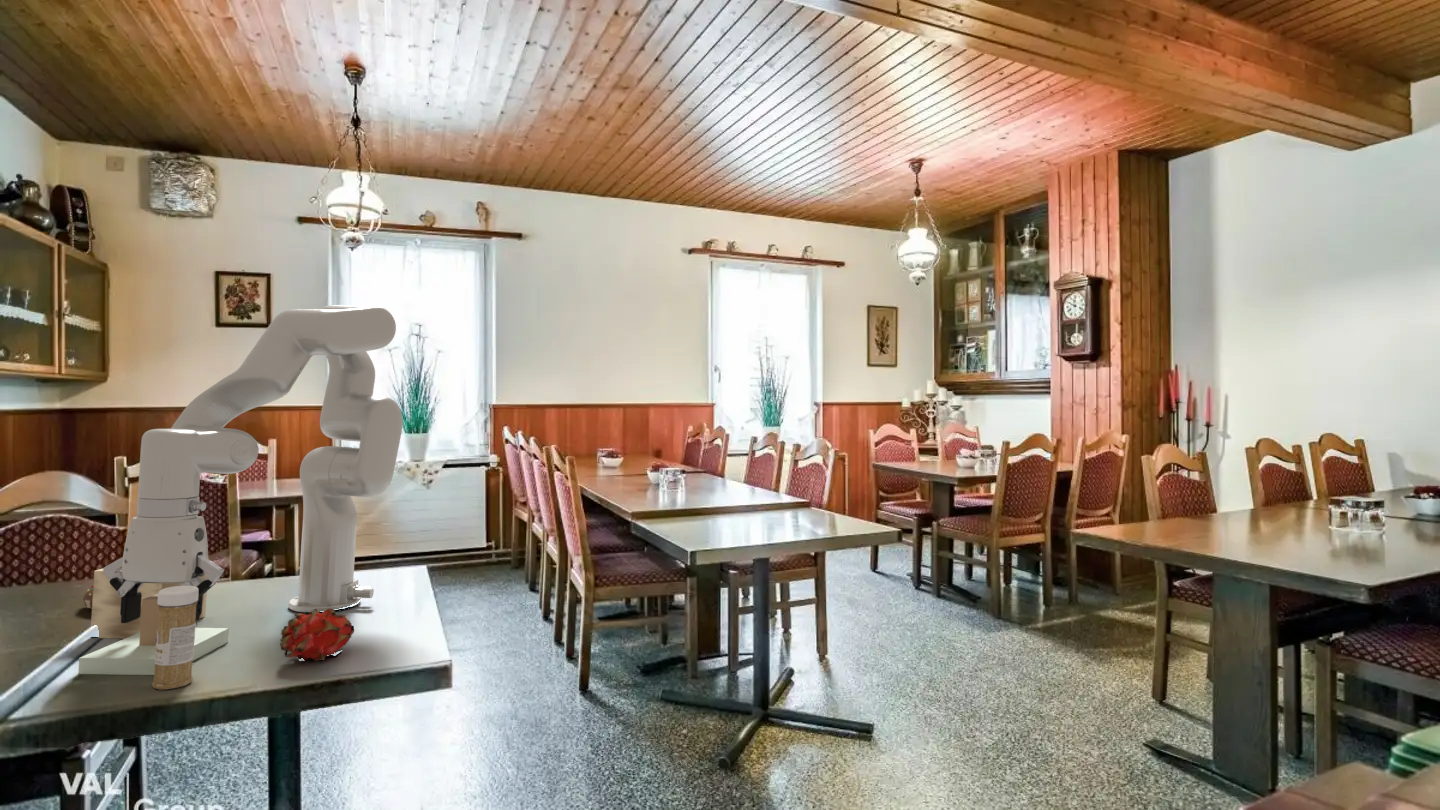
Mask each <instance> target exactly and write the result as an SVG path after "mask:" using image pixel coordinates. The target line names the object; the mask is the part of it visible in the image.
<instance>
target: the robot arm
mask: <svg viewBox="0 0 1440 810" xmlns="http://www.w3.org/2000/svg"><path fill="white" fill-rule="evenodd" d="M396 332H397V323H396V320H395V318H394V316H393V314H391V312H390V311H388V309H386V308H385V307H382V306H379V305H353V304H352V305H351V304H349V305H348V304H347V305H346V304H333V305H331V304H330V305H324V306H321V307H319V308H317V309H316V308H313V309H310V308H307V309H306V308H305V309H304V308H297V309H295V308H294V309H293V308H292V309H287V310H283V311H281V312H280V313H279V314H277V315H276V316H275V317H274V318H273V320H272V321H271V322H270V323H269V325H268V327H267V328H266V329H265V330H264V332H263V334H262V335H261V337H260V338H259V340H257V342H256V343H255V345H254V347H253V348H252V349H251V350H250V352H249V354H248V355H247V356H246V358H245V359H244V361H243V362H242V364H241V365H240V366H239V367H238V368H237V369H236V370H235V371H234V372H232V373H230V374H228V375H226V376H225V377H223V378H222V379H221V380H219V381H217V382H216V383H215V384H213V385H212V386H210V387H208V388H207V389H206V390H204V391H203V392H201V393H200V394H199V395H197V396H196V397H195V398H194V399H193V400H191V401H190V403H188V404H187V406H186V407H185V408H184V409H183V410H182V412H181V413H180V414H179V416H178V417H177V418H176V420H175V421H174V423H173V425H172V426H171V427H170V428H154V429H153V428H152V429H149V430H147V431H145V432H144V433H143V435H142V436H141V442H140V443H141V444H140V453H139V454H140V455H139V456H140V457H139V458H140V459H139V473H138V486H137V489H138V490H137V503H136V516H133V517H132V519H131V522H130V524H129V528H128V531H127V534H126V538H125V543H124V549H123V553H122V554H123V555H122V556H121V557H120V558H118V559H116V560H114V561H113V562H111V563H109V564H108V565H105V567H104V566H103V572H104V573H105V575H106V576H107V578H108V579H109V580H110V585H111V586H112V587H113V588H114V589H115V590H116V591H117V595H118V596H119V597H121V609H120V615H121V623H128V622H130V621H133V620H136V619H138V618H139V617H140V613H141V598H142V594H141V592H137V591H138V589H139V588H140V587H141V586H142V584H143V583H163V584H181V586H195V587H197V588H198V589H199V593H198V601H196V602H197V604H196V618H195V622H197V621H199V620H200V619H199V618H200V615H201V613H202V599H203V594H205V593H206V592H207V593H208V591H209V590H210V589H211V588H213V586H215V585H216V582H217V581H218V580H219V579H220V578H221V577H222V575H223V574H224V571H225V570H224V568H222V567H221V566H219V564H216V563H215V562H213V561H212V560H210V558H209V559H208V557H209V552H208V551H209V549H208V544H209V543H208V535H207V529H206V528H207V527H206V523H205V518H204V517H203V516H202V515H201V516H199V515H198V514H199V513H200V512H201V511H202V512H204V511H206V509H207V503H206V502H203V501H200V496H199V495H200V485H201V484H200V481H201V480H200V479H201V474H205V473H210V474H221V475H223V474H224V475H230V474H231V475H232V474H237V473H240V472H243V471H246V470H247V469H249V468H250V467H251V466H252V465H254V464H255V462H256V461H257V459H258V458H259V457H258V456H259V452H260V451H259V445H258V442H257V441H256V439H255V438H254V437H253V436H252V435H251V434H250V433H248V432H245V431H244V430H241V429H236V428H228V427H226V425H228V423H230V422H231V421H232V420H233V419H235V418H237V417H238V416H240V415H242V414H243V413H246V412H248V411H250V410H252V409H257V408H258V407H261V406H264V405H267V404H270V403H272V402H273V403H274V402H275V401H277V400H280V399H281V398H283V397H285V396H286V395H288V393H290V391H291V389H292V388H293V386H294V384H295V383H296V381H297V380H298V377H299V376H300V374H302V372H303V370H304V368H305V367H306V365H307V364H308V362H309V361H310V359H311V358H312V357H314V356H326V359H327V362H328V371H329V372H328V379H327V384H326V387H325V393H324V397H323V402H322V407H321V412H320V417H319V428H320V431H321V432H322V434H323V435H324V436H326V437H327V438H330V439H333V440H338V441H348V442H359V448H358V447H349V446H348V447H347V446H336V445H331V446H329V445H327V446H326V445H325V446H320V447H316V448H314V449H312V450H311V451H309V452H308V453H306V455H305V456H304V457H303V459H302V460H301V462H300V463H301V464H300V466H299V479H300V487H301V491H302V501H303V502H302V503H303V504H302V505H303V508H302V509H303V513H302V531H301V543H300V544H301V545H300V561H299V562H300V563H299V580H298V581H299V582H298V593H297V594H298V596H295V597H293V598H291V599H290V600H289V601H288V609H290V610H291V611H294V612H298V613H306V612H312V611H313V610H315V609H317V610H318V612H320V611H326V610H327V609H329V608H332V609H333V610H334V609H339V608H343V607H347V606H350V605H352V604H355V603H357V602H358V601H359V600H360V599H361V600H362V599H372V598H373V597H374V591H375V590H374V588H373V587H372V586H361V585H360V584H359V579H354V576H355V575H354V574H355V561H356V560H355V558H356V557H355V556H356V542H357V541H356V540H357V525H358V513H357V509H356V504H355V503H354V500H353V499H352V498H353V497H360V498H374V497H378V496H380V495H383V494H384V493H385V492H386V490H387V489H388V488H389V486H390V485H391V482H392V479H393V476H394V471H395V469H396V463H397V457H398V452H399V446H400V442H401V436H402V431H403V423H404V422H403V415H402V414H403V413H402V411H401V408H400V406H399V405H398V403H397V402H396V401H395V400H393V399H392V398H391V397H388V396H383V395H378V394H377V395H376V394H374V388H375V381H376V369H375V366H374V363H373V361H372V359H371V357H370V355H369V354H368V352H369V351H374V350H380V349H382V348H385V347H387V346H388V345H389V344H390V343H391V342H392V341H393V340H394V338H395V335H396ZM121 568H122V575H123V576H122V575H121V572H120V570H121ZM206 573H207V574H208V575H207V577H206V579H205V580H204V581H203V582H202V580H201V579H200V577H203V576H205V575H206Z"/></svg>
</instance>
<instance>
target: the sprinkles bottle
mask: <svg viewBox="0 0 1440 810" xmlns="http://www.w3.org/2000/svg"><path fill="white" fill-rule="evenodd" d="M198 593H199V589H198V588H197V587H195V586H174V587H168V588H164V589H162V590H160V591H159V592H158V602H157V603H158V606H159V615H158V629H157V635H156V649H155V669H154V675H153V681H152V685H151V686H152V687H153V689H155V690H172V689H177V688H181V687H184V686H187V685H189V684H190V683H191V682H192V681H193V676H192V671H193V661H192V660H193V654H194V641H195V628H196V622H197V621H195V618H196V604H197V602H196V601H198Z"/></svg>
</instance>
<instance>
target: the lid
mask: <svg viewBox="0 0 1440 810" xmlns="http://www.w3.org/2000/svg"><path fill="white" fill-rule="evenodd" d="M157 602H158V594H155V595H153V596H150V597H147V598H144V599H142V611H141V627H140V632H139V633H137V634H135V635H132V636H130V637H128V638H125V639H124V638H122V639H121V640H118V641H116V642H114V643H111V644H109V645H107V646H104V647H102V648H100V649H97V650H95V651H92V652H90V653H88V654H85V655H83V656H81V657H79V661H78V671H77V672H78V675H120V676H121V675H124V676H126V675H128V676H129V675H131V676H133V675H135V676H154V669H155V649H156V635H157V629H158V615H159V606H158V603H157ZM229 631H230V628H229V627H228V628H227V627H226V628H225V627H219V628H218V627H195V641H194V654H193V660H192V662H193V661H195V660H197V659H199V658H202V657H203V656H205V655H207V654H208V653H210V652H212V651H214V650H216V649H219V648H221V646H224V645H226V644H227V643H228V642H229V633H230V632H229Z"/></svg>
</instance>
